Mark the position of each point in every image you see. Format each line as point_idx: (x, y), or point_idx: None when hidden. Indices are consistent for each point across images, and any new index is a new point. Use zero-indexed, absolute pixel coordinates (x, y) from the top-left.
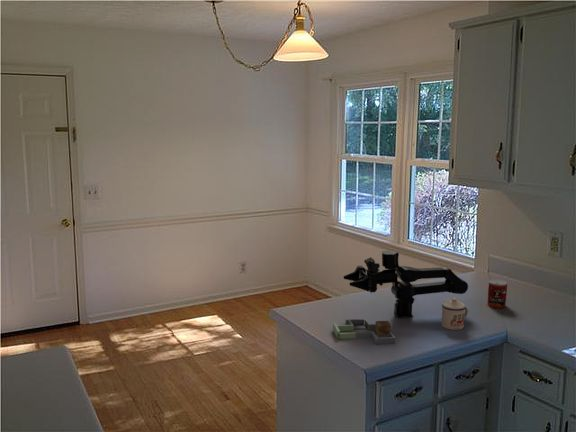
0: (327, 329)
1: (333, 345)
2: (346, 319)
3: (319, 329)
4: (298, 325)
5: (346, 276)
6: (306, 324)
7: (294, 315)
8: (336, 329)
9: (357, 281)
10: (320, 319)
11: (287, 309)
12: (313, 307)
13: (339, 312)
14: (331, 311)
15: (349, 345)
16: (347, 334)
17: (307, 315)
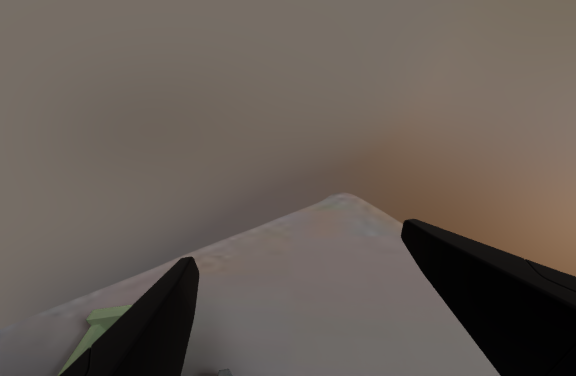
0: (203, 295)
1: (73, 309)
2: (227, 374)
3: (211, 273)
4: (252, 229)
5: (424, 239)
6: (256, 243)
7: (319, 220)
8: (114, 307)
9: (102, 334)
10: (293, 276)
11: (357, 208)
12: (401, 257)
13: (387, 359)
14: (386, 318)
15: (16, 372)
16: (70, 362)
17: (323, 244)
